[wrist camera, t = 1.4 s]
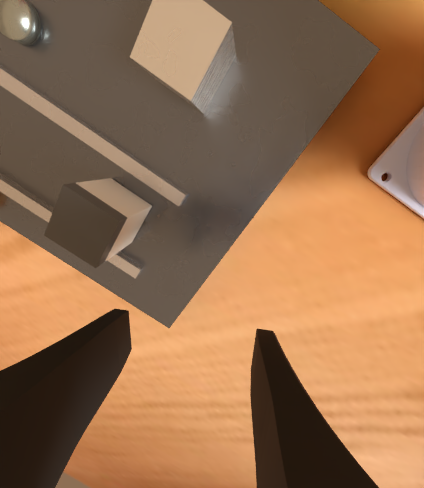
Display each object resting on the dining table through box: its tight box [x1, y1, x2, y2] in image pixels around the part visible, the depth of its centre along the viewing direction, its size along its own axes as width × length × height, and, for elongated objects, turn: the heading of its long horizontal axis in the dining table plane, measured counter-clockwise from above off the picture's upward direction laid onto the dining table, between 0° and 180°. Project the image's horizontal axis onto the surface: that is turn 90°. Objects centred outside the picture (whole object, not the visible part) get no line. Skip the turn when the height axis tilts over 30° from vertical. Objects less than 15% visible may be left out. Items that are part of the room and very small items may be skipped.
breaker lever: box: [44, 178, 152, 268], centre depth 13 cm, size 3×3×4 cm
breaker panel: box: [0, 0, 380, 328], centre depth 13 cm, size 20×20×5 cm
